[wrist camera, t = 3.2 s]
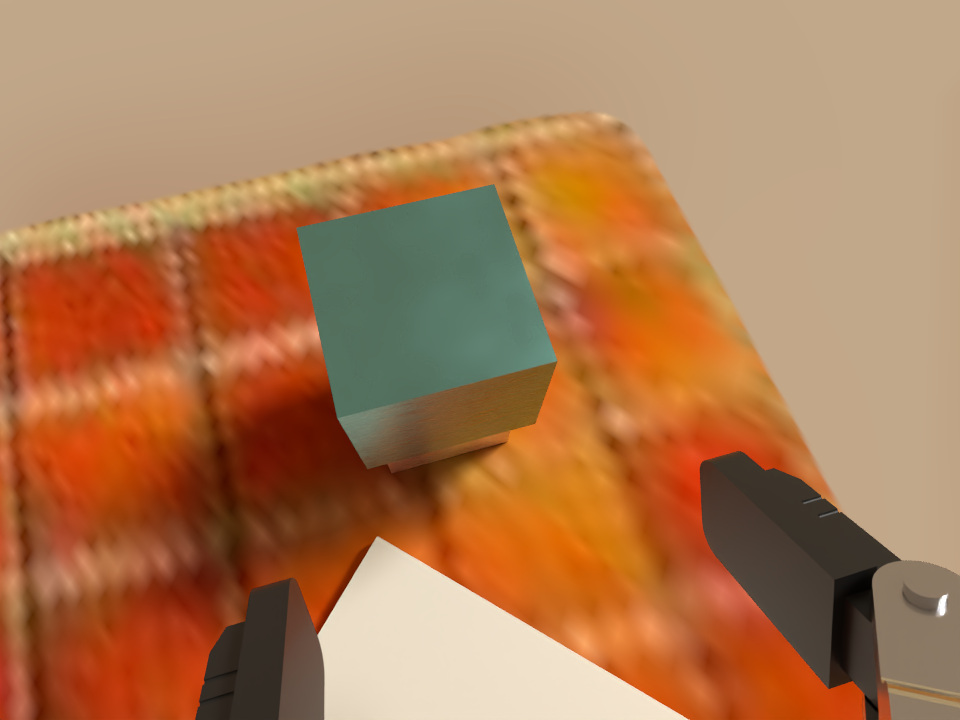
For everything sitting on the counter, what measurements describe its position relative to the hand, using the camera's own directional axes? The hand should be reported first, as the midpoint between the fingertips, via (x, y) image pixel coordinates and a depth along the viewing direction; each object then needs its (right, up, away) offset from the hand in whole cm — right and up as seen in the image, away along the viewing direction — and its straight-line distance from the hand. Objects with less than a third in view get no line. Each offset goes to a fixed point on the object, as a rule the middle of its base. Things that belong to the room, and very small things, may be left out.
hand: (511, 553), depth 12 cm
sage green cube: (-2, +3, +12) cm, 13 cm away
